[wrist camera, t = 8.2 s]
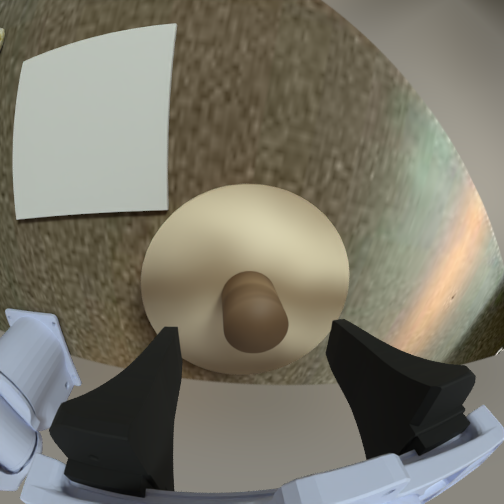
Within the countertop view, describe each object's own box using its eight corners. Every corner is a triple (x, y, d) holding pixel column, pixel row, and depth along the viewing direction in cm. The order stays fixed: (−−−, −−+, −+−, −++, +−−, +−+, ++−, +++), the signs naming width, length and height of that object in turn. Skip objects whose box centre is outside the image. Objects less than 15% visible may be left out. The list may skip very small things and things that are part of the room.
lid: (333, 355, 20) (354, 392, 16) (164, 371, 19) (157, 414, 15) (349, 182, 16) (388, 190, 12) (129, 193, 14) (100, 205, 10)
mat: (168, 208, 20) (167, 210, 19) (19, 218, 18) (16, 219, 18) (177, 26, 15) (176, 23, 15) (26, 62, 13) (23, 61, 13)
